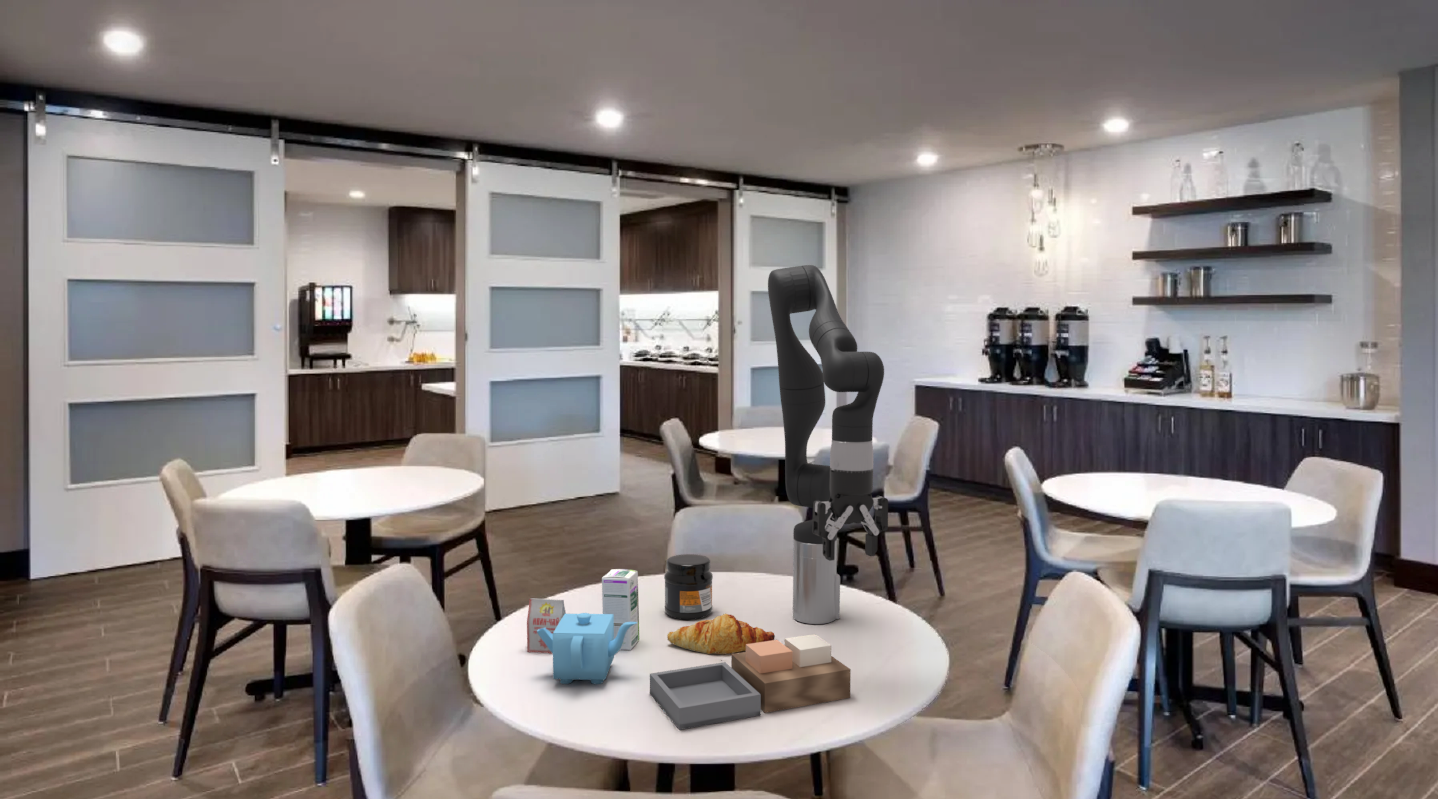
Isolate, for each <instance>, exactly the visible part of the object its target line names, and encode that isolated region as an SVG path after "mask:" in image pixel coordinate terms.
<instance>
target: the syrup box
mask: <svg viewBox="0 0 1438 799" xmlns="http://www.w3.org/2000/svg"><path fill="white" fill-rule="evenodd" d="M638 571H639V570H634V569H627V568H615V569H612V568H611V569H610V571H608V572H607V573H605V574H604V575H603V576H602V577H601V592H602V593H601V595H602V596H601V597H602V599H601V600H602V614H613V615H614V639H615V638H616V636H617V634H618V631H619V628H620V627H621V625H622V624H623V623H626V622H637V623H636V624H634V625H633V626H631V627H630V628H629V629H628V630H627V631H626V634H625V637H624V640H623V643H622V646H621V648H620V650H621V651H631V650H632V649H633V647H635V646H636V644H637V643H638V642H639V641H640V617H639V616H640V614H639V613H640V612H639V611H640V610H639V608H640V606H639V574H638V573H639V572H638ZM620 650H619V651H620Z"/></svg>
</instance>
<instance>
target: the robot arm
mask: <svg viewBox="0 0 1438 799" xmlns="http://www.w3.org/2000/svg"><path fill="white" fill-rule="evenodd" d="M825 278H826V277H825V276H824V274H823V273H822V271H821V270H820V269H819V267H817V266H816V265H812V264H811V265H810V264H806V265H797V266H792V267H791V266H789V267H783V268H777V269H773V270H771V271H770V273H769V275H768V277H767V293H768V300H769V307H770V312H771V314H770V315H771V318H772V325H773V331H774V336H775V338H774V339H775V344H776V357H777V369H778V370H777V371H778V385H779V386H778V387H779V394H780V395H779V396H780V404H781V413H782V422H783V434H784V447H785V448H784V459H785V460H784V461H785V462H784V463H785V464H784V465H785V466H784V470H785V473H784V475H785V477H784V480H785V491H786V495H787V499H788V501H789V502H790V503H791V504H792V505H794V506H796V507H803V508H811V509H812V519H809V520H805V521H802V522H798V523H797V524H796V525H794V527H793V533H792V534H793V540H792V542H793V547H792V548H793V549H792V550H793V552H792V554H793V555H792V557H793V558H792V559H793V562H792V566H793V568H792V618H793V619H794V620H795V621H797V622H800V623H804V624H811V625H823V624H828V623H832V622H834V621H836V620H839V619H840V614H841V606H840V605H841V600H840V599H841V576H840V574H838V572H837V559H838V558H837V555H838V553H837V551H838V550H837V547H838V546H837V545H838V544H837V543H838V542H837V540H838V532H839V530H841V528H842V527H843V526H844V525H851V524H861V525H862V526H863V528H864V530H865V531H866V532H867V533H865V536H864V537H865V542H864V543H865V545H864V546H865V548H864V549H865V550H864V551H865V552H864V553H865V555H866V556H868V557H875V555H876V553H877V551H878V536H879V534H880V533H882V532H887V531H888V530H889V500H888V498H887V497H883V496H880V495H876V496H875V497H873V496H872V495H873V494H872V493H873V491H874V446H873V426H874V424H873V422H874V421H873V420H874V415H875V414H874V413H875V410H876V405H877V402H878V398H879V394H880V391H881V389H882V386H883V383H884V378H885V366H884V363H883V361H882V358H881V357H880V355H878V354H877V353H876V352H873V351H858V343H857V341H856V338H855V337H854V335H853V334H852V332H851V330H850V329H849V328H848V327H847V325H846V324H845V322H844V321H843V319H842V317H841V315H840V312H839V310H838V309H837V305H836V303H835V299H834V298H833V294H832V293H831V290H830V288H829V286H828V282H827V281H826V279H825ZM813 310H815V311H814V314H813V316H812V318H811V320H810V323H809V327H808V337H809V340H810V342H811V344H812V346H813V348H814V349H815V352H817V354H818V356H819V358H820V363H821V367H820V366H819V364H818V362H817V361H816V360H815V358H813V356H811V354H810V352H808V351H807V349H806V348H805V347H804V345H803V344H802V342H801V341H800V340H799V338H798V337H797V335H796V333H795V330H794V328H793V324H792V321H791V314H798V313H799V314H800V313H804V312H810V311H813ZM825 386H826V387H827V388H828V389H829V390H831V391H832V392H835V393H857V394H856V397H855V398H854V400H853V401H852V402H850V403H848V404H845V405H840V406H837V407H835V408H833V410H832V416H831V417H832V418H831V444H830V449H829V450H830V452H829V454H830V455H829V465H826V464H816V463H808V457H807V456H808V452H807V451H808V450H807V448H808V442H809V439H810V437H811V434H812V433H813V431H814V430H815V428H816V426H817V424H818V422H819V420H820V419H821V417H822V415H823V412H824V410H825V408H826V407H825V406H826V393H825V389H826V388H825ZM872 507H873V509H874V519H873V517H872V515H871V514H870V511H871V509H872ZM842 529H843V528H842Z"/></svg>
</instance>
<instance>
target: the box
mask: <svg viewBox="0 0 1438 799" xmlns="http://www.w3.org/2000/svg"><path fill="white" fill-rule="evenodd" d="M649 695H651V697H652V698H653V700H654V701H655V702H656V703H657V704H658V706H659V707H660V708H661V709H662V711H663V712H664V713H665V714H666V716H667V717H668V718H669V719H670V720H671V722H672V723H673V724H674V725H675V726H676V728H678V730H680V731H682V730H686V729H691V728H698V727H703V726H708V725H715V724H719V723H724V722H731V721H736V720H741V719H748V718H754V717H758V716H761V714H762V713H761V711H762V710H761V694H760V693H759V692H757V691H756V690H755V689H754V688H753V687H752V686H751V685H750V684H749V683H748V682H746V681H745V680H744V679H743V678H742V677H741V676H740V675H739V674H738V673H737V672H735V671H734V670H733V669H732V668H731V665H730V664H728V663H727V662H726V661H724V662H716V663H711V664H704V665H698V666H691V667H685V668H678V669H670V670H666V671H665V670H664V671H658V672H651V673H649Z"/></svg>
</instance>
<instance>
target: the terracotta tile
mask: <svg viewBox="0 0 1438 799" xmlns="http://www.w3.org/2000/svg"><path fill="white" fill-rule="evenodd" d="M745 652H746V662H747V663H748V664H750V665H751V666H752V667H753V668H754V669H755V670H757V671H758V672H759V673H760V674H761V673H767V672H774V671H780V670H786V669H792V655H793V651H791V650H790V649H789V648H787V647H786V646H785V644H783V643H782V642H781V641H780V640H778V639H774V640H772V641H765V642H758V643H751V644H746V651H745Z"/></svg>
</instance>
